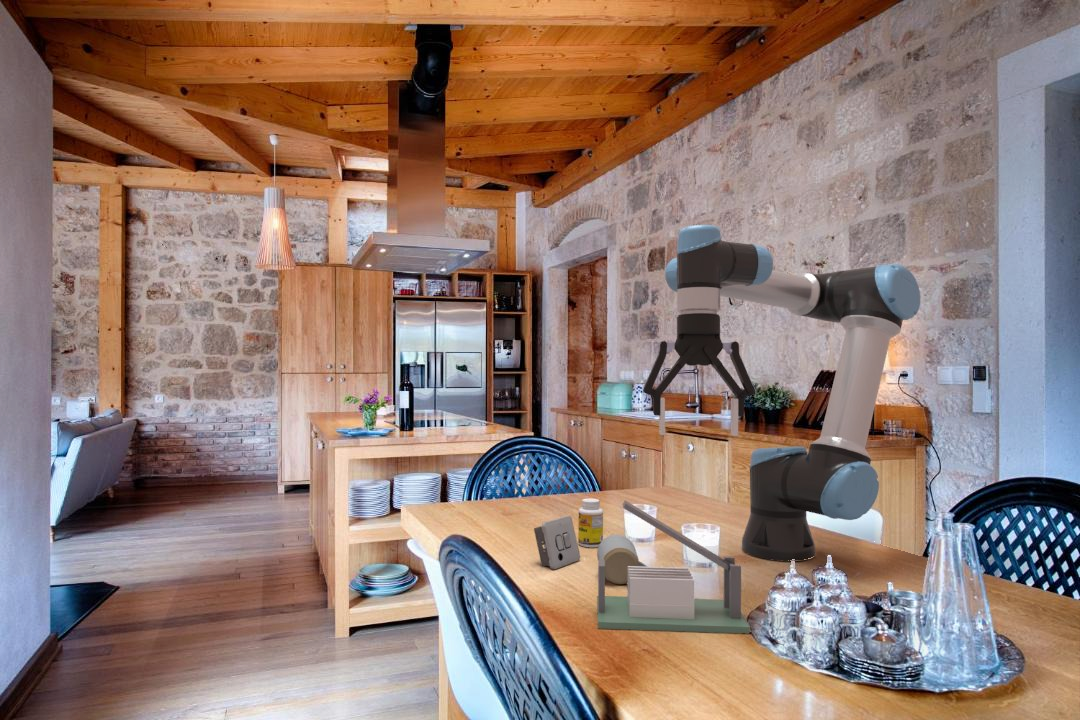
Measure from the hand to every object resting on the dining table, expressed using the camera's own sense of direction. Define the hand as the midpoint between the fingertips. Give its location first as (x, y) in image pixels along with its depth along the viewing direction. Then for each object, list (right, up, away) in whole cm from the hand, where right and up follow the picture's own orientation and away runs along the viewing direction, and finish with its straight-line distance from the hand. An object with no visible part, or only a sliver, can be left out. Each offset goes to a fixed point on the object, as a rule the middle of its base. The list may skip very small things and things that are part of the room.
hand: (697, 434), depth 120 cm
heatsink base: (-7, -28, -11) cm, 31 cm away
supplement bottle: (-17, -29, +33) cm, 47 cm away
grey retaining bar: (-6, -16, -11) cm, 20 cm away
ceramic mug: (-12, -29, +8) cm, 32 cm away
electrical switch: (-25, -29, +18) cm, 42 cm away
